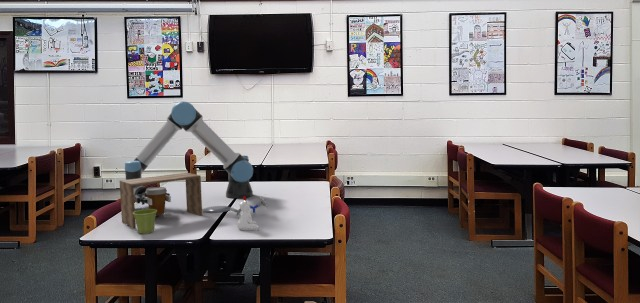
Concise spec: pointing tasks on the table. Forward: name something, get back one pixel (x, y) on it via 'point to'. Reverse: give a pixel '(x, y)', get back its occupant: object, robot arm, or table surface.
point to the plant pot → (145, 220)
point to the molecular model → (251, 206)
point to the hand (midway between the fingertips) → (160, 200)
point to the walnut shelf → (191, 182)
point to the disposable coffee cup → (157, 199)
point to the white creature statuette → (246, 218)
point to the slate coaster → (216, 209)
